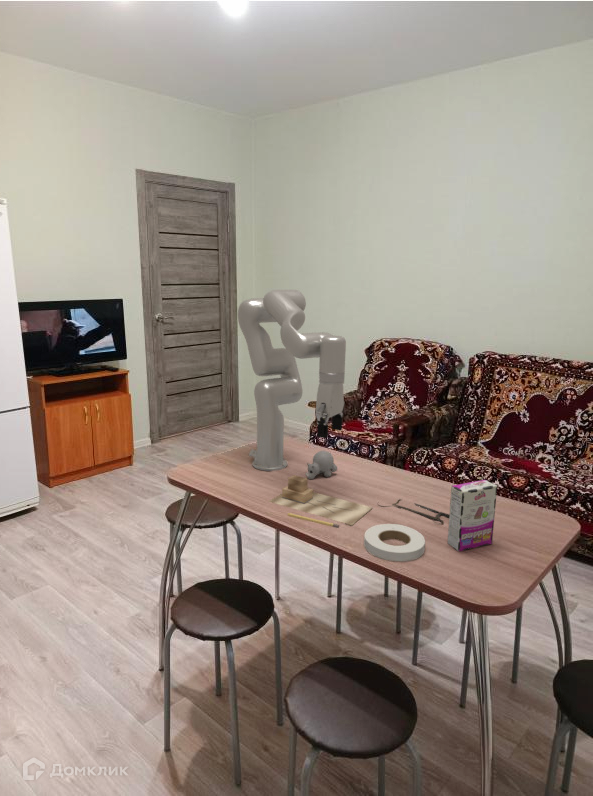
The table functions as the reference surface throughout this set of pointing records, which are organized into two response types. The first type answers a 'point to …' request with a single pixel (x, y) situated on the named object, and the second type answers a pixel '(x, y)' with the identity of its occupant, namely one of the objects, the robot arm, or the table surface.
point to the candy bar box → (472, 515)
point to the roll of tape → (394, 552)
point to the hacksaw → (423, 513)
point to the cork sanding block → (297, 490)
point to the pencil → (313, 520)
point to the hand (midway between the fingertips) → (329, 433)
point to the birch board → (328, 508)
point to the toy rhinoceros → (321, 465)
